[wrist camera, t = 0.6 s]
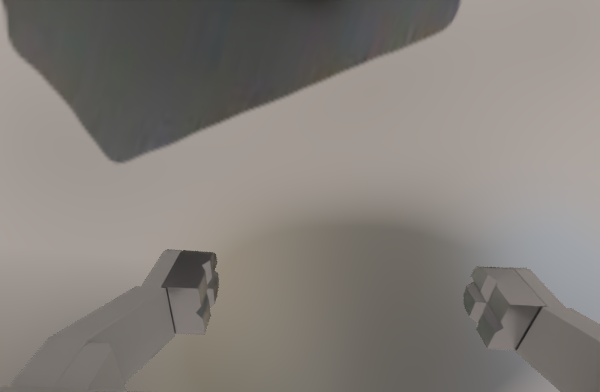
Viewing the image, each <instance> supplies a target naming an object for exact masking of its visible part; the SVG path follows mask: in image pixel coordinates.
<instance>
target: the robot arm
mask: <svg viewBox="0 0 600 392" xmlns="http://www.w3.org/2000/svg"><path fill="white" fill-rule="evenodd" d="M216 265H217V257H216V254H215V253H213V252H199V251H186V250H183V251H182V250H169V249H167V250H165V251H164V252H163V253H162V254H161V256H160V257H159V259H158V261H157V262H156V264H155V265H154V267H153V268H152V270H151V272H150V273H149V275H148V276H147V278H146V279H145V281H144V283H143V284H142V286H141V287H139V286H136V287H134V288H132V289H131V290H129V291H127V292H126V293H124V294H122V295H120V296H119V297H117V298H115V299H114V300H112V301H111V302H109V303H107V304H105V305H104V306H102V307H100V308H99V309H97V310H95V311H93V312H92V313H90V314H88V315H87V316H85V317H83V318H82V319H80V320H78V321H77V322H75V323H73V324H71V325H70V326H68V327H66V328H65V329H63V330H61V331H59V332H58V333H57V334H54V335H53V336H51V337H49V338H48V339H47V340H46V341H45V343H44V344H43V345H42V346H41V347H40V349H39V350H38V351H37V352H36V353H35V355H34V356H33V357H32V358H31V359H30V361H29V362H28V363H27V364H26V365H25V367H24V368H23V369H22V370H21V371H20V373H19V374H18V375H17V376H16V378H15V379H14V380H13V381H12V382H11V384H10V385H9V386H7V385H0V392H135V391H127V390H126V387H125V383H126V382H127V381H129V379H131V378H132V377H133V376H134V374H136V373H137V372H138V371H139V370H140V369H141V368H142V367H143V366H144V365H145V364H146V363H147V362H148V361H149V360H150V359H151V358H153V357H154V356H155V355H156V354H157V353H158V352H159V351H160V350H161V349H162V348H163V347H164V346H165V345H166V344H167V343H168V342H169V341H170V340H171V339H172V338H173V337H175V334H197V335H204V334H205V332H206V329H207V326H208V323H209V320H210V317H211V314H210V307H212V306H213V305H214V304H215V301H216V298H217V293H218V288H219V287H218V286H219V278H218V273H217V272H216V271H215V268H216ZM471 278H472V280H473V282H472V283H471V284H469V285H468V286H466V289H465V292H464V295H463V297H464V299H463V302H464V307H465V310H466V312H467V314H468V316H469V317H470V318H471V319H473V320H474V321H475V322H477V323H478V324H477V327H476V330H477V332H478V333H479V335H480V337H481V338H482V340H483V342H484V344H485V346H486V348H487V349H500V350H513V351H516V353H517V354H518V355H520V356H521V357H522V358H523V359H524V360H525V361H526V362H528V363H529V364H530V365H531V366H532V367H533V368H534V369H535V370H537V371H538V372H539V373H540V374H541V375H542V376H543V377H545V378H546V379H547V380H548V381H549V382H550V383H551V384H553V385H554V386H555V387H556V388H557V389H558V390H559V391H560V392H600V324H598V323H596V322H595V321H593V320H591V319H589V318H588V317H586V316H584V315H582V314H580V313H579V312H577V311H575V310H573V309H571V308H566V307H565V306H564V305H563V304H562V303H561V302H560V301H559V300H558V299H557V298H556V297H555V296H554V295H553V294H552V292H550V290H549V289H548V288H547V287H546V286H545V285H544V284H543V283H542V282H541V281H540V280H539V278H538V277H537V276H536V275H535V274H534V273H533V272H532V271H531V270H529V269H527V268H500V267H479V266H477V267H476V268H475V269H474V270H473V272H472V274H471Z"/></svg>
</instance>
